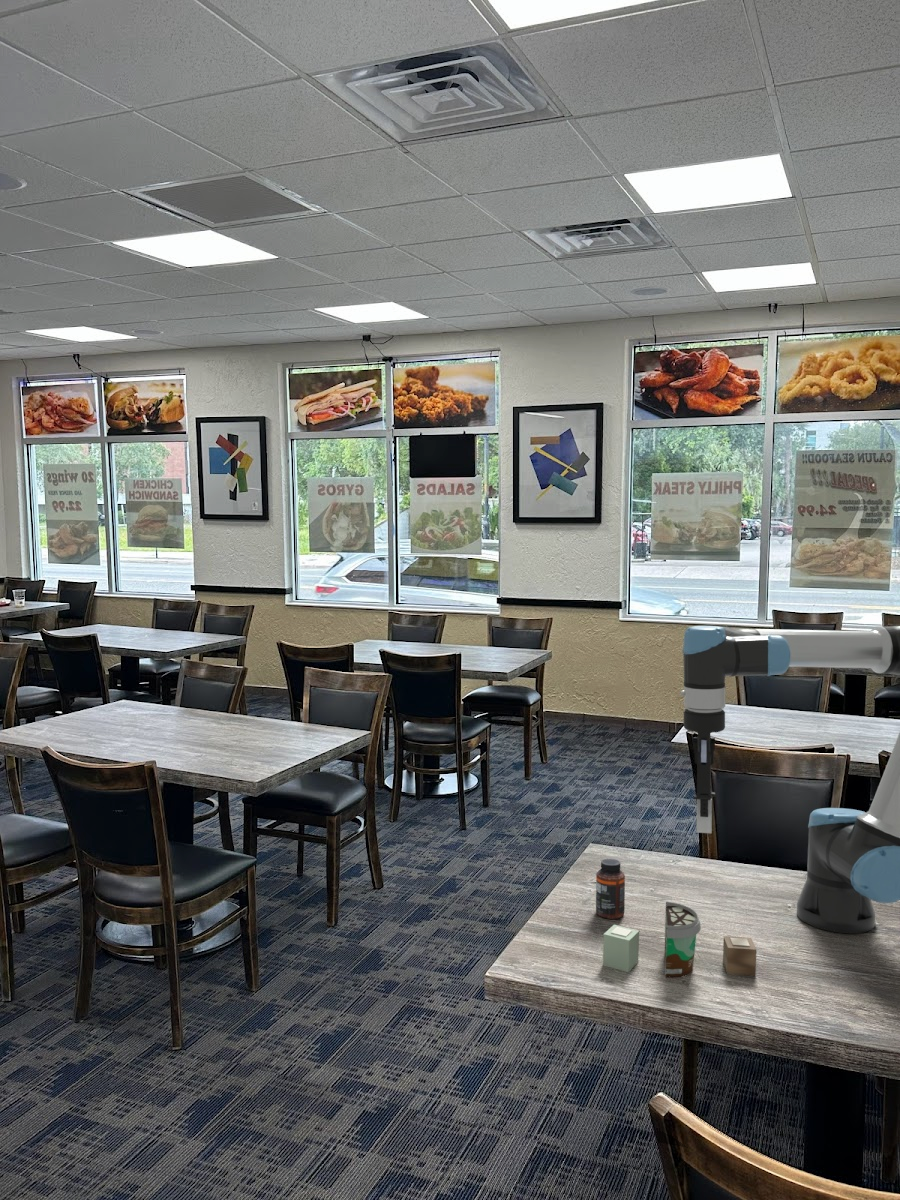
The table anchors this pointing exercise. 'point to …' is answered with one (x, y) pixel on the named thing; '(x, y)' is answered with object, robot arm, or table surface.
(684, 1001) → the table surface
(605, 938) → the sage block
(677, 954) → the food container
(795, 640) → the robot arm
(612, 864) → the supplement bottle
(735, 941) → the walnut block
